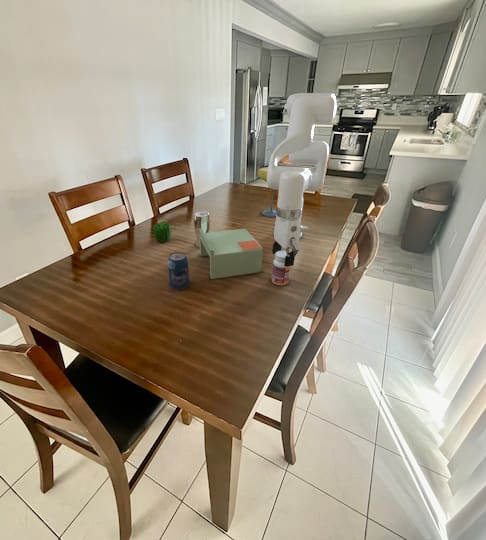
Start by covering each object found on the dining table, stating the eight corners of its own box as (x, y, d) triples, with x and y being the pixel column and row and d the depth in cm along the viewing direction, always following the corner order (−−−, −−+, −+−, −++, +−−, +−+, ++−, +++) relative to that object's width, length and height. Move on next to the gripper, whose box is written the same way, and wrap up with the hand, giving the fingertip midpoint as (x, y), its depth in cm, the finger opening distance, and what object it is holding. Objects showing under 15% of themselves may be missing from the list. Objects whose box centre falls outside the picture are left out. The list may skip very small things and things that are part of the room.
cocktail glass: (291, 211, 172) (297, 167, 159) (279, 221, 158) (285, 174, 146) (263, 206, 180) (266, 163, 167) (249, 215, 167) (252, 169, 154)
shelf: (244, 249, 130) (245, 224, 124) (261, 271, 114) (263, 243, 108) (200, 254, 126) (199, 229, 120) (211, 279, 109) (210, 250, 103)
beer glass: (208, 249, 131) (207, 217, 123) (193, 247, 132) (191, 216, 124) (211, 242, 137) (211, 211, 129) (197, 241, 138) (195, 210, 130)
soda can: (174, 292, 102) (171, 262, 96) (167, 283, 107) (164, 254, 101) (192, 287, 105) (190, 258, 99) (184, 278, 110) (182, 249, 104)
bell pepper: (150, 242, 138) (147, 221, 132) (161, 235, 144) (158, 216, 139) (164, 245, 134) (162, 225, 129) (175, 238, 140) (173, 219, 135)
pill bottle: (286, 287, 105) (290, 259, 99) (269, 283, 106) (272, 256, 101) (289, 278, 109) (293, 251, 104) (273, 275, 111) (276, 248, 106)
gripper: (313, 220, 88) (304, 269, 96) (286, 203, 102) (281, 247, 111) (290, 222, 86) (283, 272, 95) (266, 205, 101) (262, 250, 109)
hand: (282, 259), depth 103 cm, fingers open, 9 cm apart
